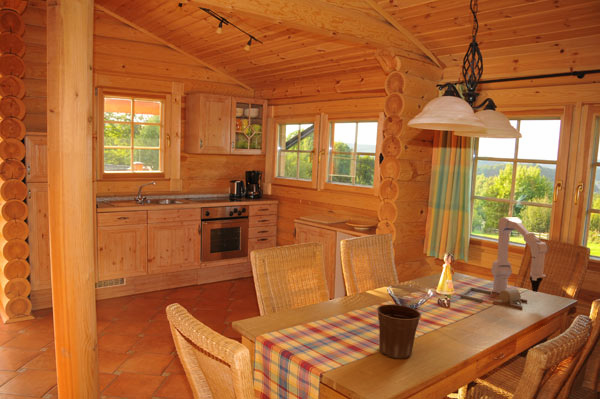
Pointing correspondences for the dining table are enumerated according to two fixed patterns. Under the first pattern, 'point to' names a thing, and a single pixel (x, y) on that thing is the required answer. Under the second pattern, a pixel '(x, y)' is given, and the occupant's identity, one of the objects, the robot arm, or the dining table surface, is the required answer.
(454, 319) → the dining table surface
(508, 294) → the speckled coffee cup
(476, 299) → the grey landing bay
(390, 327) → the plant pot
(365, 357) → the dining table surface
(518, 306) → the walnut dock
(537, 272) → the robot arm
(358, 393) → the dining table surface
